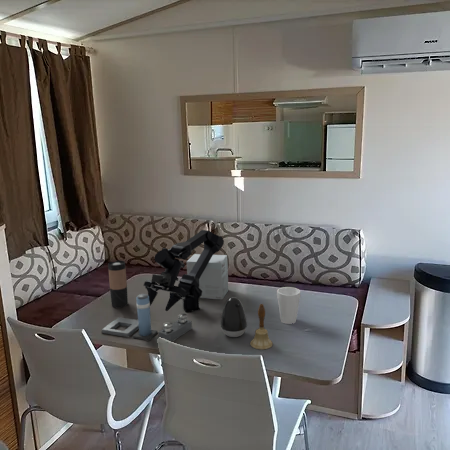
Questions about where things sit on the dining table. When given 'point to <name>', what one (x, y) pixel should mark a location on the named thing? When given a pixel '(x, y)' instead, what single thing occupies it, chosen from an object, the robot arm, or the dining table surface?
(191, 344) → the dining table surface
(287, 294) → the foam cup
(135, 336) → the mat
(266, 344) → the hand bell
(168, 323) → the plunger
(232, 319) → the dark egg shaped device
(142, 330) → the cartridge
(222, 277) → the supplement box
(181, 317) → the plunger
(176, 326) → the bar
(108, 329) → the socket plate
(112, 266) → the travel mug
